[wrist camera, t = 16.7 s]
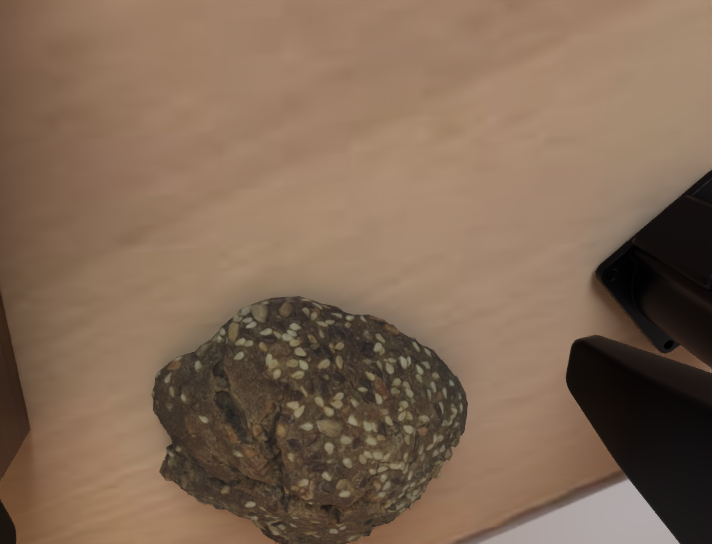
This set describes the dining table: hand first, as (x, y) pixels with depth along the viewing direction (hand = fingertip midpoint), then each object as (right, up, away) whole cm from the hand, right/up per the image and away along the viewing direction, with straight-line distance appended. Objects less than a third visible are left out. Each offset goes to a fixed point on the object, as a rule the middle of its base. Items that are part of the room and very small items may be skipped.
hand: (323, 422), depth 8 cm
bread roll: (-2, -4, +15) cm, 16 cm away
